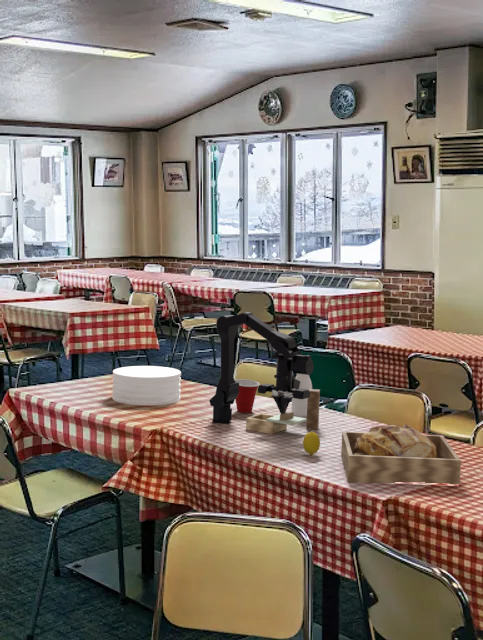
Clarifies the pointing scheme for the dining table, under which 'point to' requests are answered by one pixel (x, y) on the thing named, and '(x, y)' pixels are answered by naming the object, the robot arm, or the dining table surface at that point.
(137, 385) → the plate stack
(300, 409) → the milk bottle
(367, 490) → the dining table surface
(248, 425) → the open wooden box
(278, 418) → the lid
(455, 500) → the dining table surface
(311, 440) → the lemon
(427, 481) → the bread crate
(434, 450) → the bread
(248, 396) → the plastic cup
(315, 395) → the tan rectangular bar
